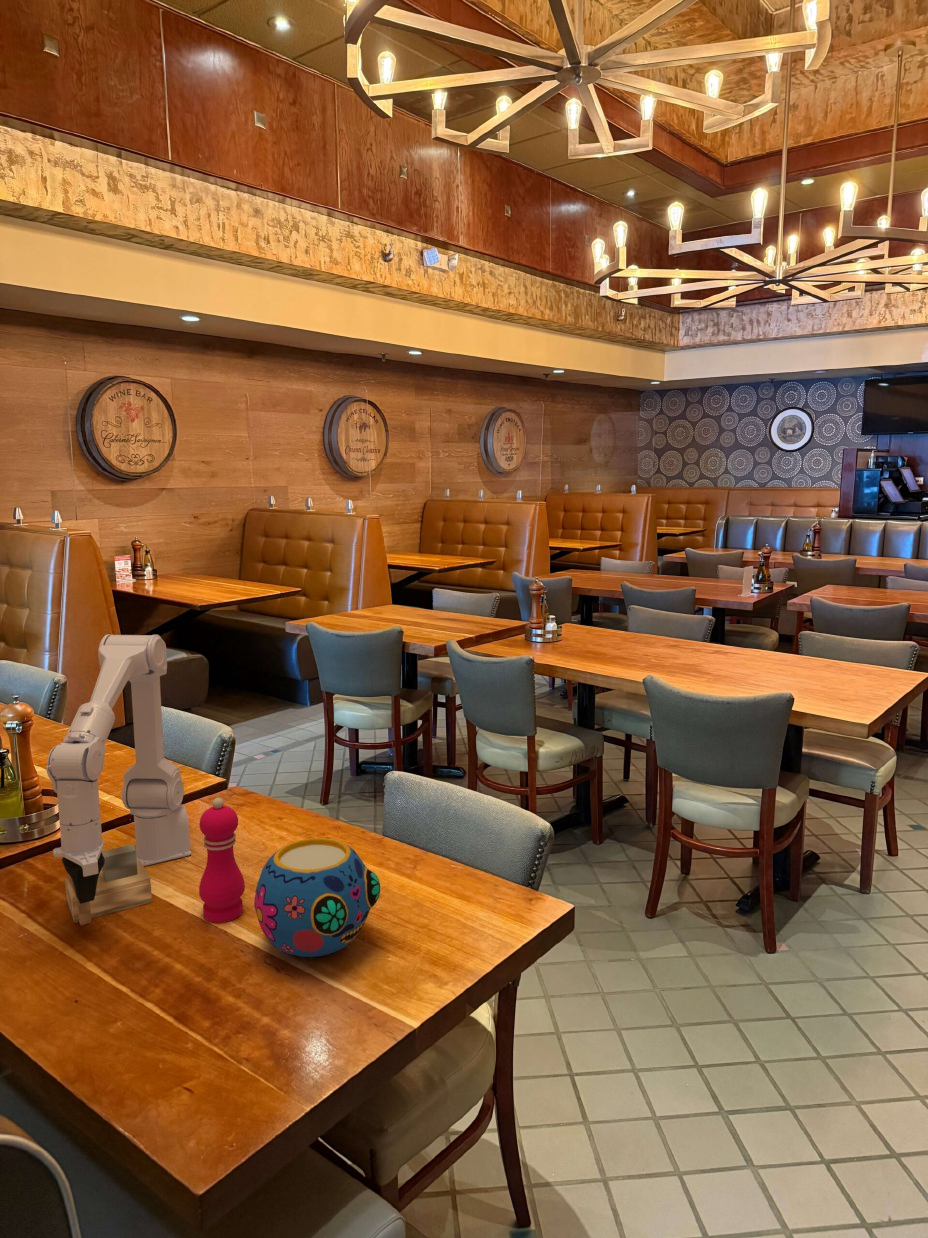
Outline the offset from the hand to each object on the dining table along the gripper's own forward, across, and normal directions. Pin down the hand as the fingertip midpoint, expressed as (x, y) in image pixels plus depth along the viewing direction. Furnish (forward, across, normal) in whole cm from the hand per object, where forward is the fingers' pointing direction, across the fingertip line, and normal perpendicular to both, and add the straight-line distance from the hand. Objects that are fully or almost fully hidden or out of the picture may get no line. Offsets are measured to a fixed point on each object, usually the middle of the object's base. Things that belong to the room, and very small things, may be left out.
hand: (86, 900), depth 127 cm
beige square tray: (+5, -8, +4) cm, 11 cm away
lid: (+2, -8, +4) cm, 9 cm away
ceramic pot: (+6, +23, +28) cm, 37 cm away
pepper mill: (+6, +6, +20) cm, 21 cm away
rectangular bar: (+1, -8, 0) cm, 8 cm away
